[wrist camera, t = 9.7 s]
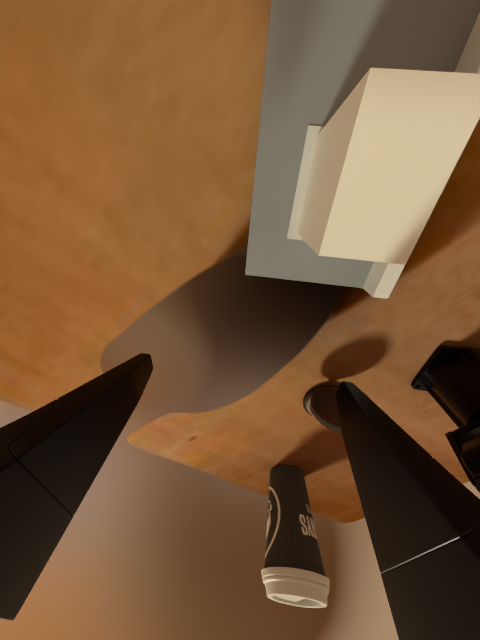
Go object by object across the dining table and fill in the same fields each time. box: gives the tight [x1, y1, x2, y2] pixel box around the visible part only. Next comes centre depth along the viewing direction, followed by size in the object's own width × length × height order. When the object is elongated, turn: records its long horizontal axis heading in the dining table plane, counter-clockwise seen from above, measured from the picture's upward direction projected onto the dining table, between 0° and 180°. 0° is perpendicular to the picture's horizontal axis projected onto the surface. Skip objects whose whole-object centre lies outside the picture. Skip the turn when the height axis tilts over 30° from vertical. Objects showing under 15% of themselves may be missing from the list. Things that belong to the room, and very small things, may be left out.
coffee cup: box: [261, 465, 330, 608], centre depth 34 cm, size 10×10×15 cm
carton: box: [297, 68, 480, 265], centre depth 11 cm, size 4×6×8 cm
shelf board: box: [245, 0, 480, 299], centre depth 12 cm, size 26×12×4 cm, turn 175°
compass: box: [303, 386, 342, 433], centre depth 25 cm, size 8×8×7 cm
